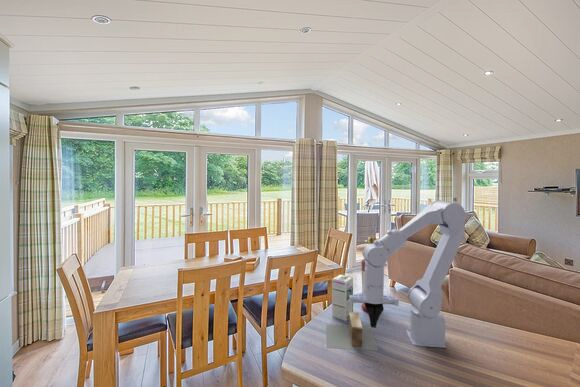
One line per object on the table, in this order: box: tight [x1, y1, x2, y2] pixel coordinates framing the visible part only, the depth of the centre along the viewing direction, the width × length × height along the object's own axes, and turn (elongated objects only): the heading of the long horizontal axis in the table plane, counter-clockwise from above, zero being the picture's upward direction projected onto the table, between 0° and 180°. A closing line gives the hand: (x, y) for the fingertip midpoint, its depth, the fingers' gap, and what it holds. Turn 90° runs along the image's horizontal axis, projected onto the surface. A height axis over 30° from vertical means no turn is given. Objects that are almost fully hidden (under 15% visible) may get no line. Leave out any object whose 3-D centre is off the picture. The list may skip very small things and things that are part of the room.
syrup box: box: [331, 274, 354, 322], centre depth 104 cm, size 6×6×14 cm
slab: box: [348, 311, 363, 347], centre depth 90 cm, size 3×9×6 cm, turn 173°
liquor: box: [360, 236, 377, 312], centre depth 108 cm, size 7×7×28 cm
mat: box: [325, 324, 379, 352], centre depth 91 cm, size 15×13×1 cm
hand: (373, 325), depth 89 cm, fingers closed
